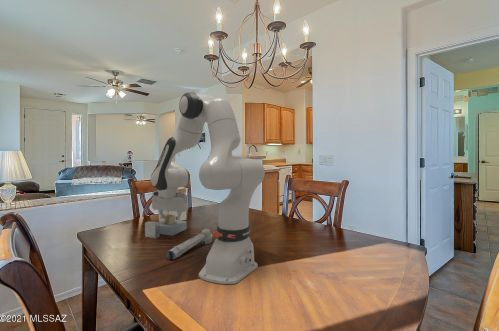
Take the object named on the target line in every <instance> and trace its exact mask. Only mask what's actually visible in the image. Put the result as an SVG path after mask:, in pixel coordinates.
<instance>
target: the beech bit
mask: <svg viewBox="0 0 499 331" xmlns="http://www.w3.org/2000/svg"><path fill="white" fill-rule="evenodd" d="M165 224H167V225H172V224H175V215H167V216H165Z"/></svg>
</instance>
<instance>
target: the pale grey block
mask: <svg viewBox="0 0 499 331" xmlns="http://www.w3.org/2000/svg"><path fill="white" fill-rule="evenodd" d="M160 235H161V234H160V232H159V221H146V222H144V236H145V237H144V238H147V237H149V239H158V238H160V237H161V236H160Z"/></svg>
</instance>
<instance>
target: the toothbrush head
mask: <svg viewBox="0 0 499 331" xmlns="http://www.w3.org/2000/svg"><path fill="white" fill-rule="evenodd" d="M213 238H214V237H213V233H211V230H210V228H205V229H202V230H201V232H200V233H199V234H196V235H195V236H193V237H191V238H189V239H187V240H185V241H184V242H181V243H180V244H178V245H174V246H173V247H172V248H171V249H170V250H168V251H167V252H166V257H167V259H168V260H170V259H171V261H174V260H176V259H178V258H180V257H181V256H182V255H183V254H184V253H186V252H188V251H189V250H190V249H192V248H193V247H194V246H196V245H198V244H199V243H200V244H201V245H209V244H212V242H213Z"/></svg>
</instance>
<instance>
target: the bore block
mask: <svg viewBox="0 0 499 331" xmlns="http://www.w3.org/2000/svg"><path fill="white" fill-rule="evenodd" d="M187 225H188V224H187V220H186V221H185V220H182V221H178V220H175V224H172V225H167V224H165V221H162V222H160V223H159V232H160V235H165V236H166V235H167V236H172V237H173V236H175V235H177V234H179V233H180V232H181V233H182V232H183V231H186V230H188V229H187Z"/></svg>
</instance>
